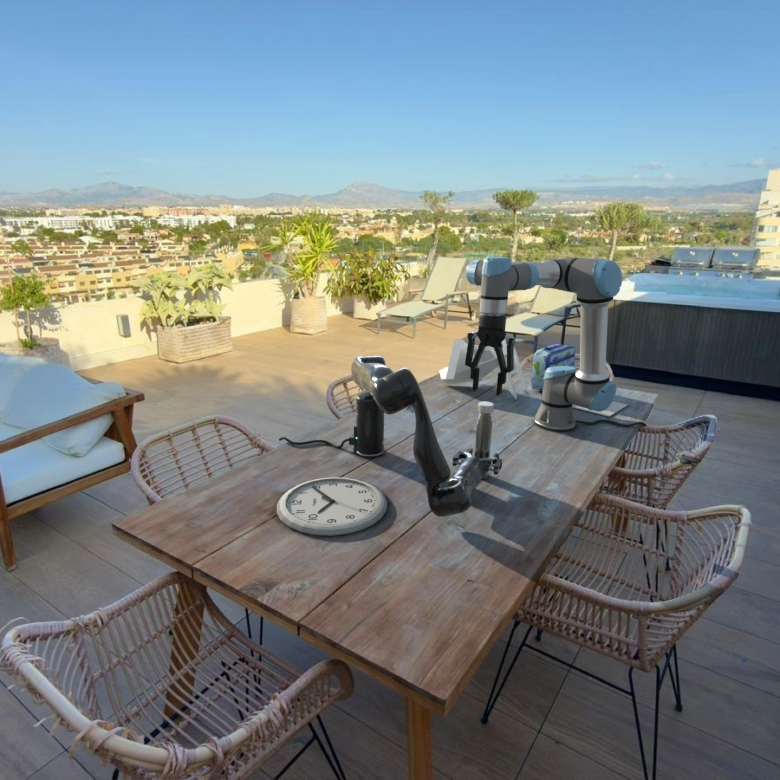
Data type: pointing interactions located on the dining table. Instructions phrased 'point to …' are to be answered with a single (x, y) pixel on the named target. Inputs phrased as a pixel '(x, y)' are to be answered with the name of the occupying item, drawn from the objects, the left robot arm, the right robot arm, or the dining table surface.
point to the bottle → (483, 437)
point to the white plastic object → (478, 366)
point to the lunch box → (550, 362)
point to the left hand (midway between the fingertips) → (483, 453)
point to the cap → (485, 407)
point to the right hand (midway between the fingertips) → (486, 391)
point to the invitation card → (609, 411)
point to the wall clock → (331, 506)
